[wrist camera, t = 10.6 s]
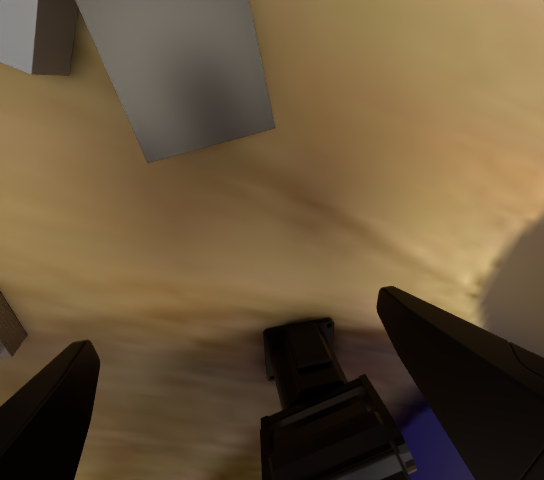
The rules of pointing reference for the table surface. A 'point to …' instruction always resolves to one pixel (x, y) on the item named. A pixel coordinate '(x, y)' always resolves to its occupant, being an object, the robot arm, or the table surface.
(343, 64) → the table surface
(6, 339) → the rail
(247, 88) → the loose grey block
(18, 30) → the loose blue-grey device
